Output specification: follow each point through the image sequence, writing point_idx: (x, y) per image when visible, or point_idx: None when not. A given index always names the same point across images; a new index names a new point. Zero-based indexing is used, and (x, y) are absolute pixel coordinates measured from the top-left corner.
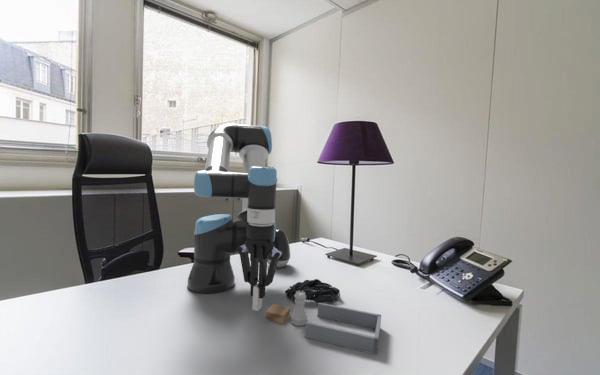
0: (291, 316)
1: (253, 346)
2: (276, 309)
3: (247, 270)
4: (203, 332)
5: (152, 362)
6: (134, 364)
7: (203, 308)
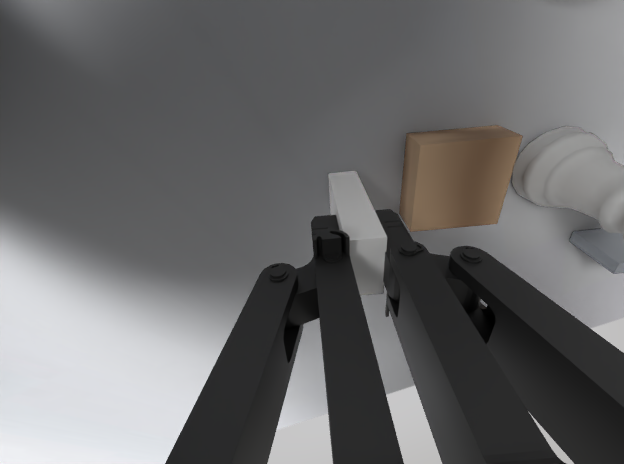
0: (528, 193)
1: None
2: (452, 190)
3: (283, 384)
4: None
5: None
6: None
7: (120, 259)
